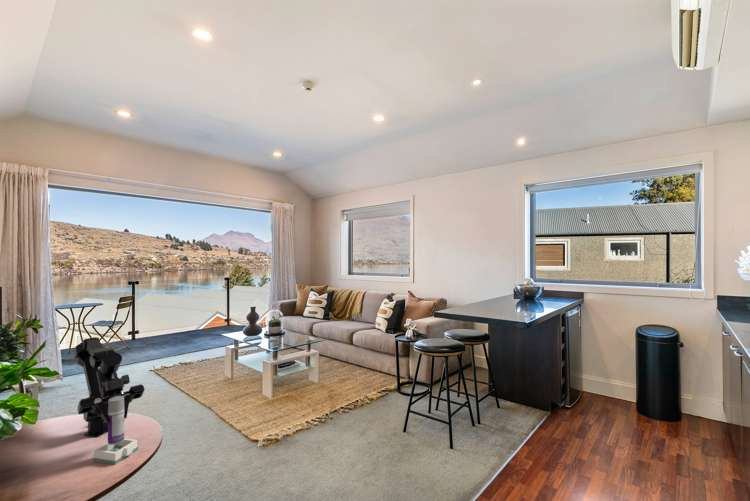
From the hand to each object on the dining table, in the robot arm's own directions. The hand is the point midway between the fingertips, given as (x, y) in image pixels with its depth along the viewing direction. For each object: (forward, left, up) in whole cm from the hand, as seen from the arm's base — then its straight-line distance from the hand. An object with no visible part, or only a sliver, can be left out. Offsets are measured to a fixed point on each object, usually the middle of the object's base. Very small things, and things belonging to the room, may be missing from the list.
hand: (117, 420), depth 124 cm
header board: (-1, +1, -12) cm, 13 cm away
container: (-1, +1, -8) cm, 8 cm away
